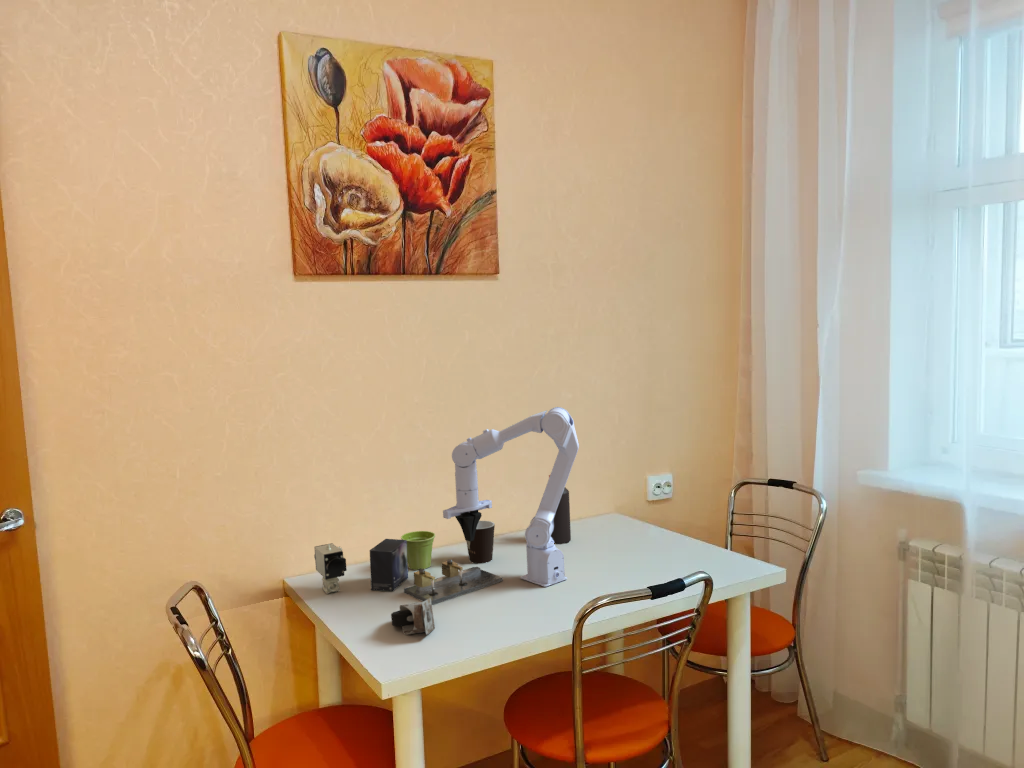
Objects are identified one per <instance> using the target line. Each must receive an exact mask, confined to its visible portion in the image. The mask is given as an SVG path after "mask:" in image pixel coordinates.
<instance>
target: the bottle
mask: <svg viewBox="0 0 1024 768" xmlns="http://www.w3.org/2000/svg"><path fill="white" fill-rule="evenodd" d="M549 477H550V474H549V475H548V478H549ZM570 509H571V507H570V491H569V489H568V488H566V486H565V488H564V491H563V493H562V496H561V499H560V502H559V504H558V507H557V510H556V513H555V516H554V519H553V523H554V530H553V532H552V534H551V537H552V539H553V541H554V543H557V544H556V545H558V544H559V545H562V543H564V544H567V543H569V541H570V542H571V540H572V536H571V533H572V530H571V512H570V511H571V510H570Z"/></svg>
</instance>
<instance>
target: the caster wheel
mask: <svg viewBox="0 0 1024 768" xmlns="http://www.w3.org/2000/svg"><path fill="white" fill-rule="evenodd" d="M390 617H391V625H392V626H393V627H401V629H402V632H403V634H404V635H412V634H413V635H414V634H421V633H425V636H428V635H429V634H430V633H431V632H432V631H434V630H435V629H436V627H435V626H436V625H435V619H434V613H433V605H432V604H431V598H429V599H427V600H426V601H420V602H414V603H413V602H412V603H406V604H405V603H404V604H400V605H399V610H397V611H393V612H392V613H391V614H390Z"/></svg>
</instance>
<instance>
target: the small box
mask: <svg viewBox="0 0 1024 768" xmlns="http://www.w3.org/2000/svg"><path fill="white" fill-rule="evenodd" d="M369 563H370V565H369V566H370V568H369V569H370V591H380V592H395V590H396V589H397V588H398V587H400V586H401V585H402V584H403V583H404V582H405V581H406V580H408V579H409V567H408V562H407V540H402V539H397V538H385V539H384V540H382V541H381V542H380V543H378V544H377V545H375V546H374V547H372V548H371V549H370V550H369Z"/></svg>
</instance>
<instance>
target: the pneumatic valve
mask: <svg viewBox="0 0 1024 768" xmlns="http://www.w3.org/2000/svg"><path fill="white" fill-rule="evenodd" d="M313 556H314V561H315V571H317V573H318V574H319V575H320V576H322V577H321V581H322V585H323V587H322V591H324V592H325V593H326V594H328V593H329V594H330V593H335V592H337V591H338V592H339V591H340V590H341V589H340V584H339V582H340V579H339V578H340V577H344V576H345V572H347V570H348V569H347V559H346V558H345V557H344V551H343V548H342V547H341V546H336V545H335V544H334V543H328V544H321V545H316V546H314V555H313ZM329 594H328V595H329Z"/></svg>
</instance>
